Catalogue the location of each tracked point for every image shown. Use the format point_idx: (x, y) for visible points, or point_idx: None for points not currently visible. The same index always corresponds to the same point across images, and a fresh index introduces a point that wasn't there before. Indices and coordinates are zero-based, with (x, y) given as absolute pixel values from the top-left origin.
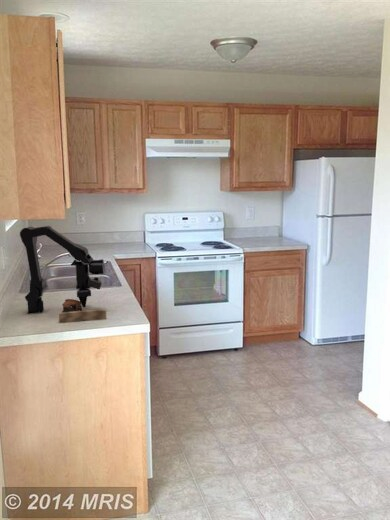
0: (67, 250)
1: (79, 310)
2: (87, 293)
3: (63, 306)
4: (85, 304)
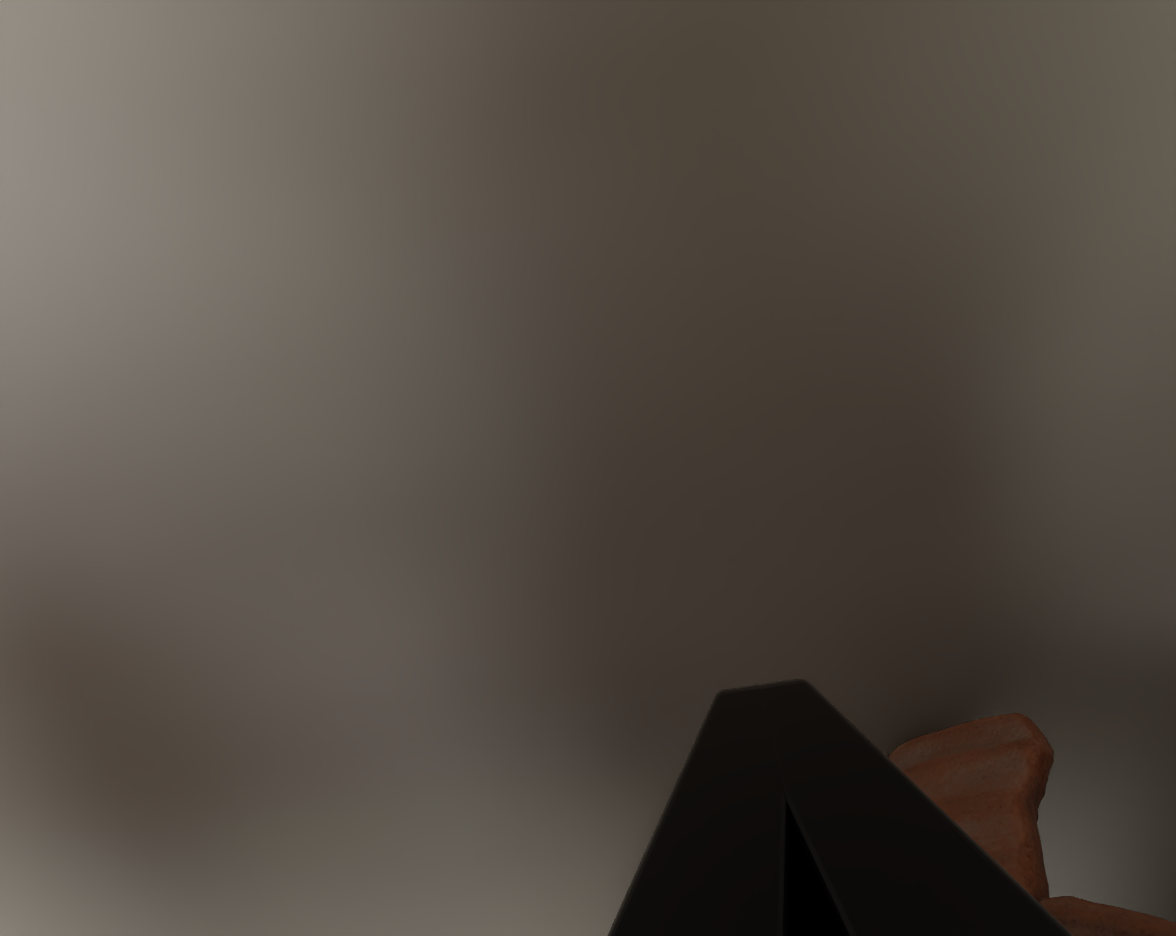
0: None
1: None
2: None
3: None
4: (883, 774)
